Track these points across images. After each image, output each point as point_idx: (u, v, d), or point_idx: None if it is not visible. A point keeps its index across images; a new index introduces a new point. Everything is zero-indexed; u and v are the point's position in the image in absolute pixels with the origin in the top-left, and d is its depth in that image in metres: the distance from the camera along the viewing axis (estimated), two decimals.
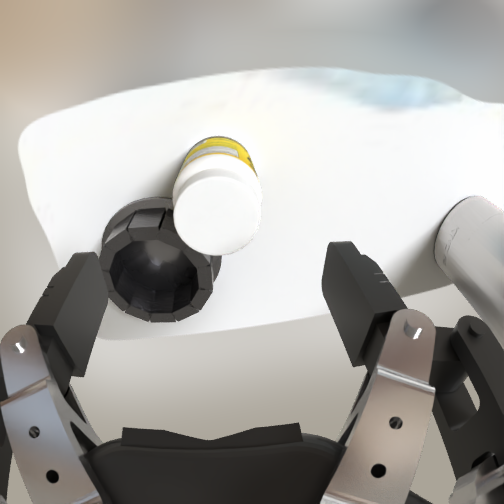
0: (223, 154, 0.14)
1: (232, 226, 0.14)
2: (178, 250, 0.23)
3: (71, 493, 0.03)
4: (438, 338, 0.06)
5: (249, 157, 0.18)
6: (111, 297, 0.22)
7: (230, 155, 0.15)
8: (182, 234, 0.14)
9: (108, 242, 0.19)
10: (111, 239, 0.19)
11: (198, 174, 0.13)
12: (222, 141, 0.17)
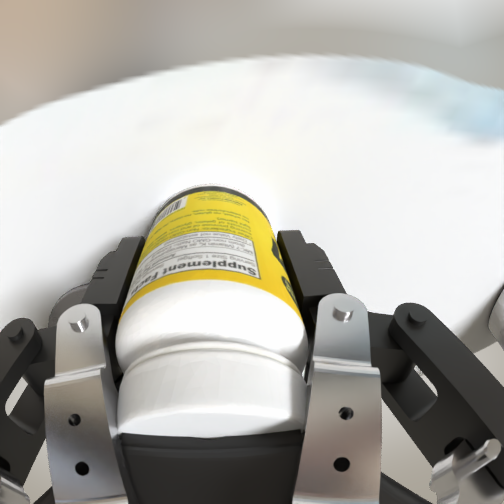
0: (222, 280, 0.06)
1: None
2: None
3: (97, 489, 0.03)
4: (375, 325, 0.07)
5: (272, 235, 0.10)
6: None
7: (240, 279, 0.06)
8: None
9: None
10: None
11: (158, 368, 0.05)
12: (218, 207, 0.09)
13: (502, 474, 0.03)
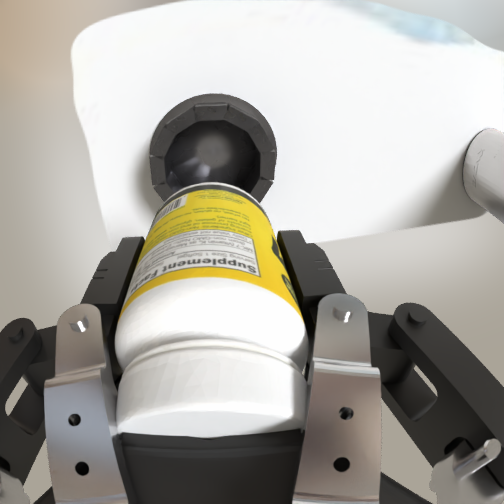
0: (222, 277, 0.06)
1: None
2: (233, 148, 0.22)
3: (97, 490, 0.03)
4: (375, 325, 0.07)
5: (272, 233, 0.10)
6: (160, 192, 0.21)
7: (240, 277, 0.06)
8: None
9: (169, 123, 0.18)
10: (173, 119, 0.18)
11: (157, 366, 0.04)
12: (218, 205, 0.09)
13: (502, 474, 0.03)
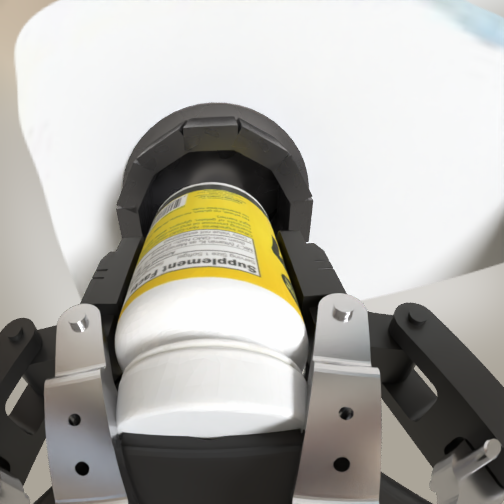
0: (222, 277, 0.06)
1: None
2: (246, 187, 0.15)
3: (97, 489, 0.03)
4: (375, 325, 0.07)
5: (272, 233, 0.10)
6: None
7: (240, 277, 0.06)
8: None
9: (143, 155, 0.11)
10: (149, 150, 0.11)
11: (157, 366, 0.04)
12: (218, 205, 0.09)
13: (502, 474, 0.03)
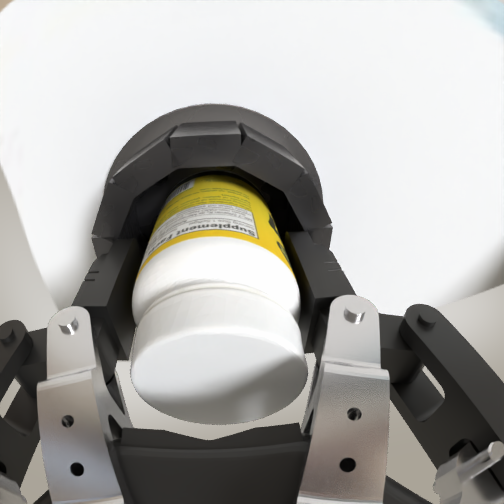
0: (227, 237, 0.07)
1: (250, 397, 0.06)
2: None
3: (92, 490, 0.03)
4: (386, 326, 0.07)
5: (269, 212, 0.11)
6: None
7: (241, 237, 0.07)
8: (155, 405, 0.06)
9: (121, 173, 0.09)
10: (128, 166, 0.09)
11: (173, 303, 0.06)
12: (222, 186, 0.10)
13: None
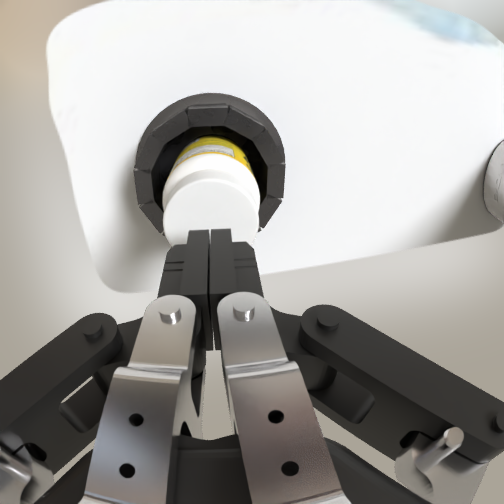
0: (217, 153, 0.13)
1: None
2: None
3: (135, 495, 0.03)
4: (285, 326, 0.07)
5: (245, 156, 0.17)
6: (147, 212, 0.17)
7: (225, 154, 0.13)
8: (173, 242, 0.12)
9: (157, 129, 0.15)
10: (162, 125, 0.15)
11: (190, 176, 0.12)
12: (216, 139, 0.16)
13: (473, 453, 0.04)
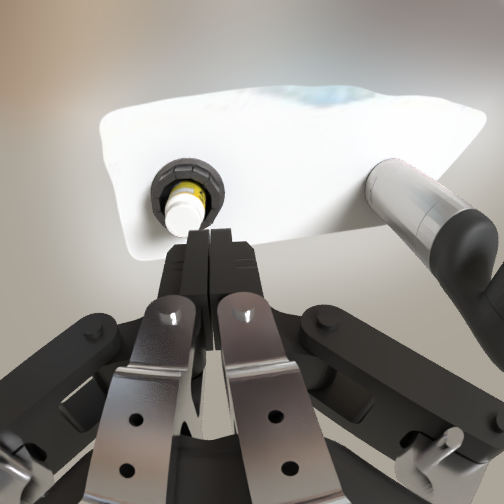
0: (186, 193, 0.33)
1: (189, 225, 0.33)
2: None
3: (135, 496, 0.03)
4: (285, 326, 0.07)
5: (202, 190, 0.37)
6: (157, 216, 0.37)
7: (189, 193, 0.33)
8: (169, 228, 0.33)
9: (161, 180, 0.35)
10: (163, 178, 0.35)
11: (174, 203, 0.32)
12: (188, 183, 0.36)
13: (473, 453, 0.04)
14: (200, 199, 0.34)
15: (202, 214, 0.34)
